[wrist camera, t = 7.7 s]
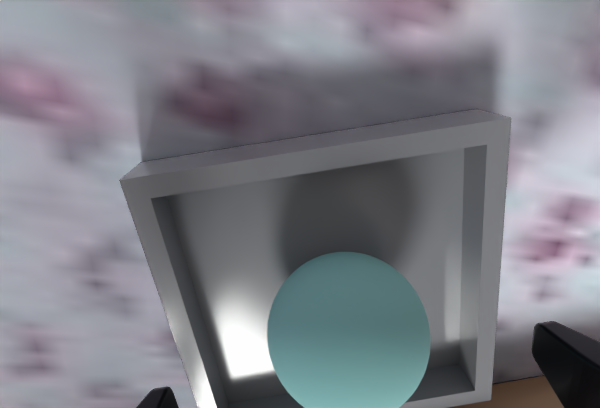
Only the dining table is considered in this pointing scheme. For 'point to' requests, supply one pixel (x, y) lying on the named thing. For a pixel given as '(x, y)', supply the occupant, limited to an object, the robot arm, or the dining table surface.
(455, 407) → the rail
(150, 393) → the robot arm
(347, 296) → the ball
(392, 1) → the dining table surface
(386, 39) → the dining table surface
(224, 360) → the tray
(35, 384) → the dining table surface
